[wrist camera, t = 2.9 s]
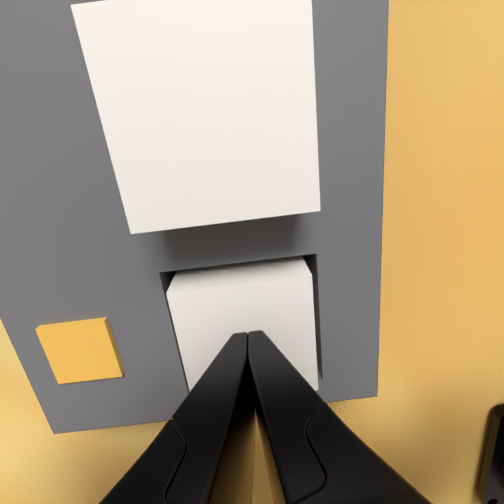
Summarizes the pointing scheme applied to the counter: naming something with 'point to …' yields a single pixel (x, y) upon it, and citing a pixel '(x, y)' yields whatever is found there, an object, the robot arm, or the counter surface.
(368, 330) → the keyguard plate
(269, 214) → the middle key
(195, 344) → the key
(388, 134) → the counter surface
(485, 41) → the counter surface
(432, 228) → the counter surface
